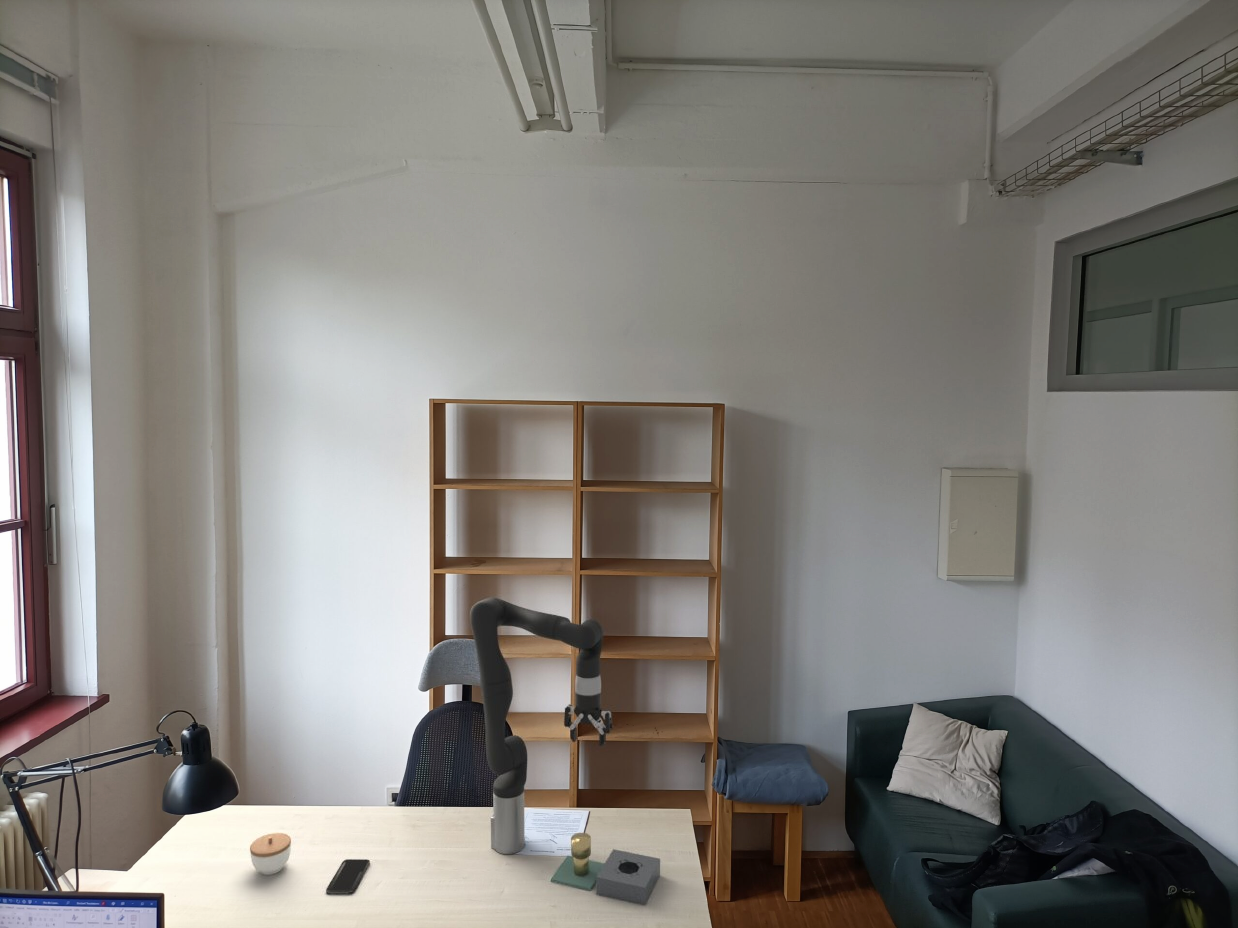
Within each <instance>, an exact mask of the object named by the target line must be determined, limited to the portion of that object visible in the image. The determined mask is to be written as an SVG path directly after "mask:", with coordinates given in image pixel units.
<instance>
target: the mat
mask: <svg viewBox="0 0 1238 928" xmlns="http://www.w3.org/2000/svg"><path fill="white" fill-rule="evenodd" d="M604 864H605V862H600V861H595V860H590V859H589V874H588V875H586V876H576V875H575V874H574V861H573V857H572V855H567V856H566V857H565V858H564V860H563V861H562V863H560V865H559V867H558V868H557V870H556V871H555V872H554V873H553V875H552V877H551V878H550V882H551V883H555V884H559V885H562V886H567V887H572V888H577V889H581V890H585V891H588V892H589V891H590V892H591V891H592V889H593V887H594V886H596V877H597V875H598V873H599V872H600V870H601V869H602V867H603V865H604Z"/></svg>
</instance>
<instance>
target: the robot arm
mask: <svg viewBox="0 0 1238 928" xmlns="http://www.w3.org/2000/svg"><path fill="white" fill-rule="evenodd" d="M469 623H470V627H471V632H472V635H473V636H472V637H473V640H474V645H475V650H476V656H477V657H476V659H477V664H478V672H479V683H480V690H481V691H480V692H481V696H482V697H481V698H482V704H483V705H482V706H483V713H484V721H485V722H484V723H485V749H486V750H485V751H486V753H485V754H486V760H487V764H488V767H489V769H490V771H491V772H492V773H493V774H494V775H495V776H498V777H497V778H496V779H495V780H494V782H493V784H492V785H493V786H492V793H493V794H492V795H493V796H492V799H493V800H492V801H493V804H492V805H493V811H492V812H493V813H492V816H491V817H490V848H491V849H494V851H496V852H497V853H499V854H503V855H504V854H505V855H510V854H511V855H512V854H516V853H518V852H521V851H522V850H523V849H524V848H525V845H526V844H525V842H526V841H525V840H526V837H525V827H526V826H525V785H526V782H527V780H528V779H527V776H528V749H527V746H526V743H525V742H524V740H523V738H521V737H520V736H519V735H516V734H515V735H510V736H507V737H505V727H506V726H505V724H506V720H507V716H508V713H509V711H510V708H511V704H512V700H513V697H514V696H513V695H514V690H513V689H514V688H513V680H512V673H511V669H510V667H509V664H508V663H507V661H506V658H505V657H504V655H503V653H502V651H501V648H500V643H499V637H498V635H499V634H498V628H499V627H514V628H519V629H523V630H524V631H526V632H529V633H531V634H533V635H535V636H538V637H540V638H544V639H548V640H549V639H550V640H553V641H559V642H562V643H564V644H566V645H569V646H571V647H573V648H576V649H578V650H579V653H578V655H577V657H576V660H575V681H574V683H575V684H574V695H575V696H574V697H575V699H574V702H575V703H574V704H575V705H574V706H572V704H570V703H569V704H568V705H566V707H565V708H564V716H563V717H564V720H563V725H564V727H565V728H569V729H570V730H569V731H570V733H569V734H570V735H569V736H570V740H571V742H573V743H575V742H576V741H577V740H578V727H577V726H578V725H579V723H581V724H583V725H586V724H587V725H589V726H594V727H595V729H596V730H597V731H598V733H599V734H598V737H599V738H598V739H599V740H598V742H599V743H598V744H599V745H598V746H599V747H603V746H604V745H605V744H606V742H607V734H610V732H611V731H612V730H613V715H612V713H613V712H612V710H610V709H609V710H607V711H605V710H602V707H601V706H602V679H601V661H600V660H601V654H602V649H603V643H604V630H603V626H602V625H601V623H600V622H599V621H598V620H596V619H593V618H591V619H587V620H585V621H583V622H582V623H581V624H578V623H573V622H572V621H571V620H570V618H568V617H565V616H563V615H562V616H561V615H559V614H552V613H546V612H541V611H537V610H533V609H529V608H526V607H522V606H519V605H516V604H513V603H512V602H509V601H506V600H503V599H500V598H498V597H495V596H494V597H487V598H484V599H482V600H479V601H478V602H475V603H474V604H473V606H471V608H470V612H469ZM573 713H574V715H575V716H576V719H575V720H574V721H573V722H572V714H573ZM601 716H602V718H603V719H602V718H601ZM603 720H604V721H603ZM604 723H605V724H604Z"/></svg>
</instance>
